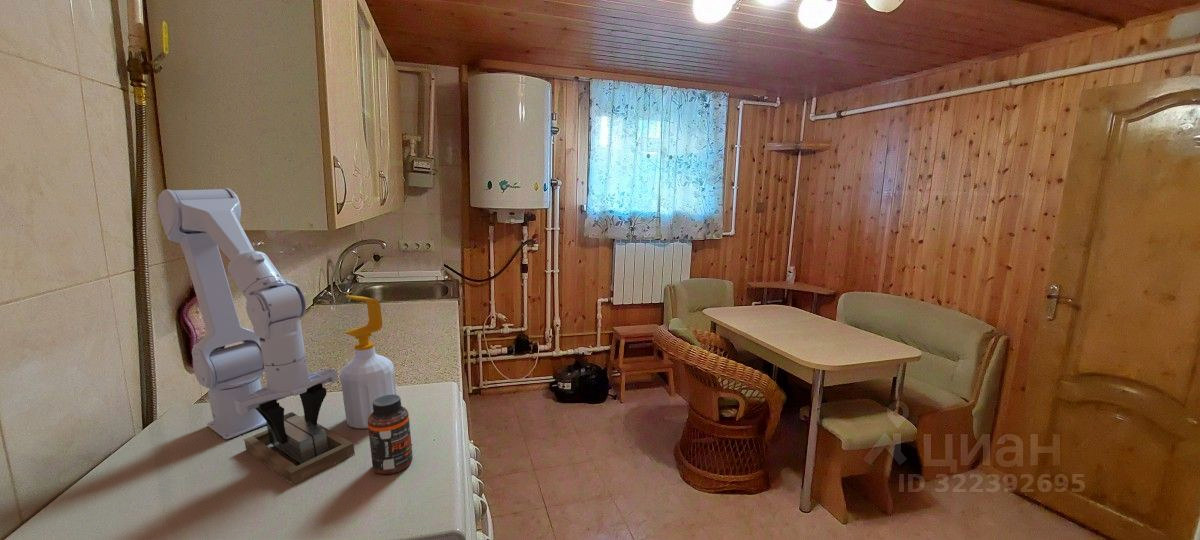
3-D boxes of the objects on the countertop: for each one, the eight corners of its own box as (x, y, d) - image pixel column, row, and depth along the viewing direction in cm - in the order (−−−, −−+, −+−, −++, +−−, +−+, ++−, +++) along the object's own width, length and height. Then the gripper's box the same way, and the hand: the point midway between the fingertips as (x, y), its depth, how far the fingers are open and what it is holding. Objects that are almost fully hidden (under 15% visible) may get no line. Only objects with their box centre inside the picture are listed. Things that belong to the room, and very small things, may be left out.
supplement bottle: (398, 478, 71) (390, 410, 69) (364, 474, 72) (355, 407, 70) (420, 455, 77) (414, 392, 74) (389, 452, 78) (381, 389, 76)
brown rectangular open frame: (246, 449, 79) (244, 439, 79) (304, 425, 87) (303, 415, 87) (293, 484, 70) (291, 473, 69) (354, 454, 77) (353, 443, 77)
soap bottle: (337, 421, 88) (320, 296, 84) (382, 402, 96) (369, 286, 91) (362, 435, 83) (345, 303, 79) (408, 413, 91) (395, 292, 86)
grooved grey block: (269, 443, 80) (266, 421, 79) (295, 432, 83) (291, 412, 82) (303, 465, 73) (299, 442, 73) (329, 452, 77) (325, 430, 76)
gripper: (242, 380, 67) (257, 465, 70) (342, 349, 79) (352, 422, 82) (223, 370, 71) (238, 450, 74) (322, 342, 83) (332, 412, 85)
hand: (297, 435), depth 78 cm, fingers closed on grooved grey block, 4 cm apart
